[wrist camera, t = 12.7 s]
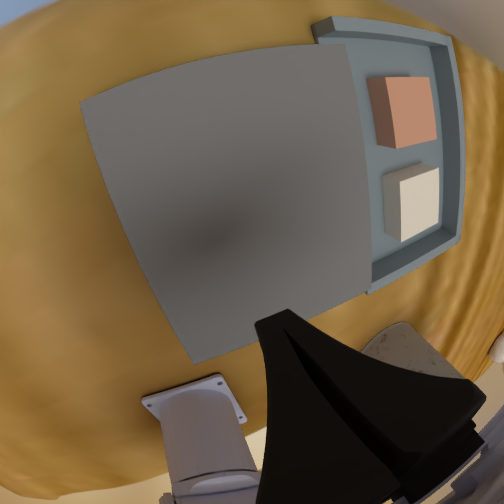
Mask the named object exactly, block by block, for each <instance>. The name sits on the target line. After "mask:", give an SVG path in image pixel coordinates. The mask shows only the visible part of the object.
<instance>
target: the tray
mask: <svg viewBox="0 0 504 504" xmlns="http://www.w3.org/2000/svg"><path fill="white" fill-rule="evenodd" d="M311 28H312V32H313V35H314V39H315V43H316V44H345V47H346V51H347V55H348V59H349V64H350V68H351V73H352V77H353V82H354V87H355V92H356V97H357V103H358V108H359V114H360V120H361V127H362V133H363V141H364V148H365V157H366V166H367V176H368V187H369V200H370V216H371V243H372V289H370V290H368V291H366V292H365V293H366V294H367V295H369V294H371V293H373V292H375V291H376V290H378V289H380V288H382V287H384V286H386V285H388V284H389V283H391V282H393V281H395V280H397V279H398V278H400V277H402V276H404V275H406V274H407V273H409V272H411V271H413V270H414V269H416V268H418V267H419V266H421V265H423V264H424V263H426V262H428V261H430V260H431V259H433V258H434V257H436V256H438V255H439V254H441V253H443V252H444V251H446V250H447V249H449V248H451V247H452V246H454V245H455V244H457V243H458V242H460V237H461V229H462V220H463V210H464V196H465V169H466V154H465V128H464V114H463V104H462V96H461V88H460V81H459V75H458V69H457V64H456V59H455V54H454V49H453V45H452V41H451V37H449V36H446V35H443V34H439V33H436V32H432V31H428V30H424V29H420V28H415V27H411V26H406V25H401V24H396V23H390V22H384V21H377V20H370V19H361V18H351V17H338V16H331V17H328V18H326V19H324V20H322V21H320V22H318V23H316V24H314V25H312V26H311ZM383 77H429V81H430V87H431V93H432V99H433V107H434V115H435V124H436V134H437V139H435V140H431V141H427V142H422V143H418V144H414V145H410V146H406V147H402V148H398V149H394V148H389V147H385V146H380V145H377V138H376V131H375V124H374V118H373V112H372V106H371V101H370V96H369V91H368V86H367V81H366V79H370V78H383ZM419 163H424V164H428V165H431V166H435V167H438V168H439V215H438V223H436V224H435V225H433V226H431V227H429V228H427V229H425V230H424V231H422V232H420V233H418V234H416V235H414V236H412V237H410V238H409V239H407V240H405V241H403V242H399V241H398V240H396V239H394V238H393V237H391V236H389V235H388V234H386V233H385V218H384V200H383V186H382V175H385V174H388V173H391V172H394V171H397V170H400V169H403V168H407V167H410V166H413V165H416V164H419Z"/></svg>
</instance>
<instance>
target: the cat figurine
mask: <svg viewBox="0 0 504 504" xmlns="http://www.w3.org/2000/svg"><path fill="white" fill-rule="evenodd" d="M489 357H490V358H491V359H492V360H493V361H494V362H496V363H498V364H503V373H504V332H503V333H502V334H501V335H500V336H499V337H498V338H497V339H496V340H495V342H494V344H493V345H492V347H491V349H490V351H489Z"/></svg>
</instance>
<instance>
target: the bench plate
mask: <svg viewBox="0 0 504 504" xmlns="http://www.w3.org/2000/svg"><path fill="white" fill-rule="evenodd" d="M79 104H80V107H81V111H82V115H83V118H84V122H85V125H86V128H87V132H88V135H89V138H90V141H91V144H92V147H93V150H94V153H95V156H96V159H97V162H98V165H99V168H100V171H101V173H102V176H103V179H104V182H105V184H106V187H107V190H108V192H109V195H110V197H111V200H112V202H113V205H114V207H115V210H116V212H117V215H118V217H119V220H120V222H121V224H122V227H123V229H124V231H125V234H126V236H127V238H128V240H129V243H130V245H131V247H132V249H133V251H134V254H135V256H136V258H137V260H138V262H139V264H140V266H141V268H142V271H143V273H144V275H145V277H146V279H147V281H148V283H149V285H150V287H151V289H152V291H153V293H154V295H155V297H156V298H157V300H158V302H159V304H160V306H161V308H162V310H163V312H164V314H165V315H166V317H167V319H168V321H169V323H170V325H171V326H172V328H173V330H174V332H175V333H176V335H177V337H178V339H179V340H180V342H181V344H182V346H183V347H184V349H185V351H186V352H187V354H188V356H189V357H190V359H191V361H192V362H193V364H194V365H195V364H198V363H201V362H203V361H206V360H209V359H212V358H215V357H217V356H220V355H223V354H225V353H228V352H231V351H233V350H236V349H239V348H241V347H244V346H246V345H249V344H251V343H254V342H256V341H259V339H258V336H257V333H256V330H255V327H254V324H255V322H256V321H258V320H261V319H263V318H266V317H268V316H271V315H273V314H276V313H278V312H280V311H283V310H285V309H290V310H292V311H293V312H294V313H296V314H297V315H298V316H300V317H301V318H303V319H304V320H305V321H306V320H308V319H310V318H312V317H314V316H317V315H319V314H321V313H323V312H325V311H327V310H329V309H332V308H334V307H336V306H338V305H340V304H342V303H344V302H346V301H348V300H350V299H352V298H354V297H356V296H358V295H360V294H362V293H364V292H366V291H368V290H370V289H372V243H371V216H370V200H369V187H368V176H367V166H366V157H365V148H364V141H363V133H362V127H361V120H360V114H359V108H358V103H357V97H356V92H355V87H354V82H353V77H352V73H351V68H350V64H349V59H348V55H347V51H346V47H345V44H308V45H292V46H281V47H271V48H263V49H256V50H249V51H243V52H237V53H231V54H226V55H221V56H216V57H211V58H206V59H202V60H198V61H194V62H190V63H186V64H182V65H179V66H175V67H171V68H168V69H165V70H161V71H158V72H155V73H152V74H149V75H146V76H143V77H140V78H137V79H134V80H132V81H129V82H126V83H124V84H121V85H119V86H116V87H114V88H111V89H109V90H106V91H104V92H102V93H99V94H97V95H95V96H93V97H90V98H88V99H86V100H84V101H82V102H80V103H79Z"/></svg>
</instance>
